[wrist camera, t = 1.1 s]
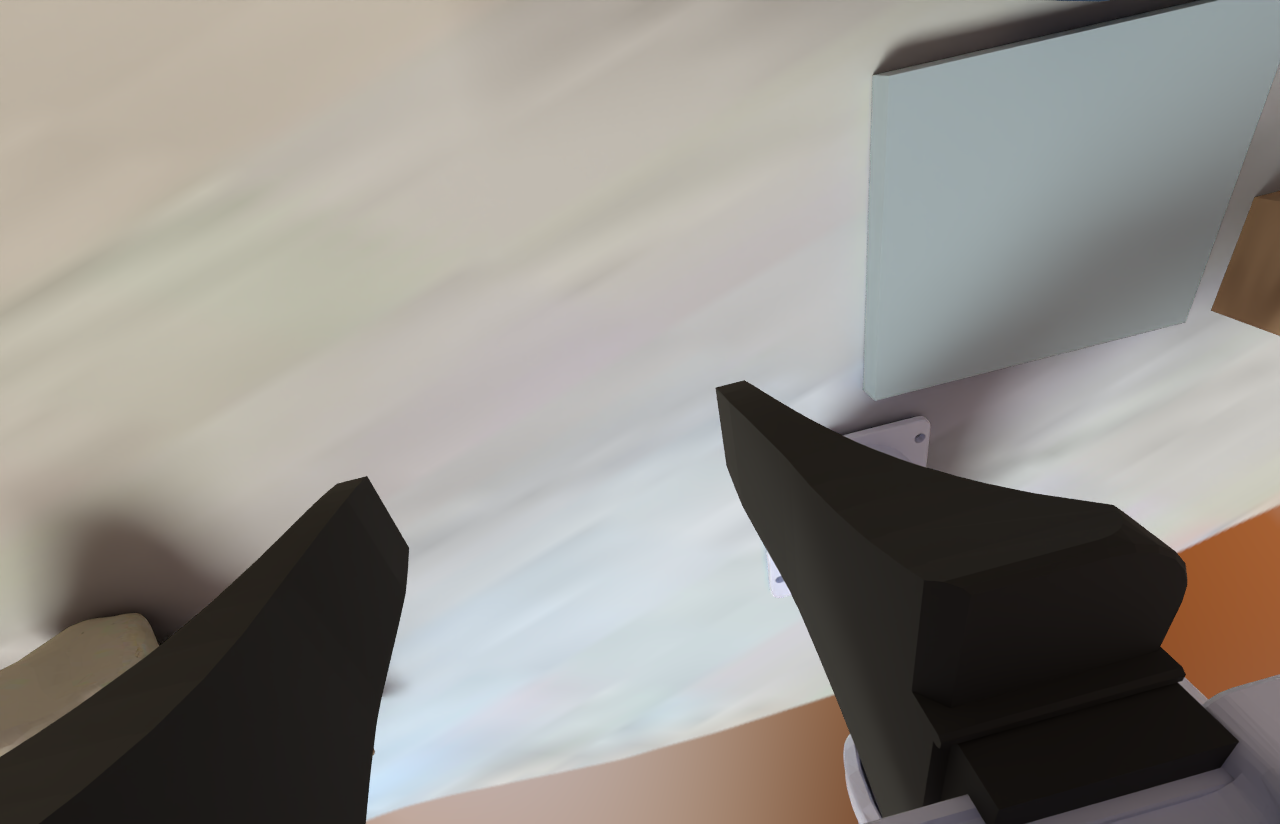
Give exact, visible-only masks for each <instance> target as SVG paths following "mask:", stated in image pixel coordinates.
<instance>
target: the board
mask: <svg viewBox="0 0 1280 824" xmlns="http://www.w3.org/2000/svg"><path fill="white" fill-rule="evenodd" d="M1279 63H1280V0H1199V1H1194V2H1190V3H1185V4H1181V5H1177V6H1172V7H1168V8H1164V9H1159V10H1155V11H1151V12H1146V13H1142V14H1137V15H1133V16H1129V17H1124V18H1120V19H1116V20H1111V21H1107V22H1103V23H1098V24H1094V25H1090V26H1085V27H1081V28H1076V29H1072V30H1068V31H1063V32H1059V33H1055V34H1050V35H1046V36H1042V37H1037V38H1033V39H1028V40H1024V41H1020V42H1015V43H1011V44H1007V45H1002V46H998V47H994V48H989V49H985V50H980V51H976V52H972V53H967V54H963V55H959V56H954V57H950V58H946V59H941V60H937V61H932V62H928V63H924V64H919V65H915V66H911V67H906V68H902V69H898V70H893V71H889V72H884V73H880V74H876V75H873V83H872V115H871V147H870V179H869V211H868V243H867V275H866V307H865V339H864V371H863V390H864V391H865V392H866V393H867V394H868V395H869V396H870V397H871V398H872V399H873V400H874V401H877V400H881V399H885V398H889V397H893V396H897V395H901V394H905V393H909V392H913V391H917V390H921V389H924V388H928V387H932V386H936V385H940V384H944V383H948V382H952V381H956V380H960V379H964V378H968V377H972V376H976V375H980V374H984V373H988V372H992V371H996V370H1000V369H1003V368H1007V367H1011V366H1015V365H1019V364H1023V363H1027V362H1031V361H1035V360H1039V359H1043V358H1047V357H1051V356H1055V355H1059V354H1063V353H1067V352H1071V351H1075V350H1079V349H1082V348H1086V347H1090V346H1094V345H1098V344H1102V343H1106V342H1110V341H1114V340H1118V339H1122V338H1126V337H1130V336H1134V335H1138V334H1142V333H1146V332H1150V331H1154V330H1158V329H1161V328H1165V327H1169V326H1173V325H1177V324H1181V323H1185V322H1186V319H1187V317H1188V314H1189V311H1190V308H1191V305H1192V303H1193V300H1194V297H1195V294H1196V292H1197V289H1198V286H1199V283H1200V281H1201V278H1202V275H1203V272H1204V270H1205V267H1206V264H1207V261H1208V259H1209V256H1210V253H1211V250H1212V248H1213V245H1214V242H1215V239H1216V237H1217V234H1218V231H1219V228H1220V226H1221V223H1222V220H1223V217H1224V215H1225V212H1226V209H1227V206H1228V204H1229V201H1230V198H1231V195H1232V193H1233V190H1234V187H1235V184H1236V182H1237V179H1238V176H1239V173H1240V171H1241V168H1242V165H1243V162H1244V159H1245V157H1246V154H1247V151H1248V148H1249V146H1250V143H1251V140H1252V137H1253V135H1254V132H1255V129H1256V126H1257V124H1258V121H1259V118H1260V115H1261V113H1262V110H1263V107H1264V104H1265V102H1266V99H1267V96H1268V93H1269V91H1270V88H1271V85H1272V82H1273V80H1274V77H1275V74H1276V71H1277V69H1278V66H1279Z"/></svg>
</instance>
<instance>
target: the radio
mask: <svg viewBox="0 0 1280 824" xmlns="http://www.w3.org/2000/svg"><path fill="white" fill-rule="evenodd" d="M1057 1H1108V0H1057Z"/></svg>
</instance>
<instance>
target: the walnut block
mask: <svg viewBox="0 0 1280 824" xmlns="http://www.w3.org/2000/svg"><path fill="white" fill-rule="evenodd" d="M1211 311H1214V312H1216V313H1219V314H1222V315H1225V316H1227V317H1230V318H1233V319H1235V320H1238V321H1241V322H1244V323H1246V324H1249V325H1252V326H1254V327H1257V328H1260V329H1263V330H1265V331H1268V332H1271V333H1273V334H1276V335H1279V336H1280V191H1277V192H1273V193H1269V194H1265V195H1261V196H1257V197H1254V200H1253V202H1252V205H1251V208H1250V210H1249V213H1248V215H1247V218H1246V221H1245V223H1244V226H1243V228H1242V231H1241V234H1240V236H1239V239H1238V241H1237V244H1236V247H1235V249H1234V252H1233V254H1232V257H1231V260H1230V262H1229V265H1228V267H1227V270H1226V273H1225V275H1224V278H1223V280H1222V283H1221V286H1220V288H1219V291H1218V293H1217V296H1216V299H1215V301H1214V304H1213V306H1212V309H1211Z"/></svg>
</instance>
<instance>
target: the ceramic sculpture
mask: <svg viewBox="0 0 1280 824" xmlns="http://www.w3.org/2000/svg"><path fill="white" fill-rule="evenodd" d="M157 647H159V645H158V642H157V640H156V637H155V635H154V632H153V630H152V628H151V626H150V624H149V622H148V621H147V619H146V618H145V617H144V616H142V615H141V614H138V613H129V614H122V615H117V616H112V617H103V618H94V619H89V620H84V621H82V622H79V623H77V624H75V625H72V626H70V627H68V628H67V629H65V630H64V631H62V632H61V633H59V634H58V635H56V636H55V637H53V638H52V639H50V640H49V641H47V642H46V643H44V644H43V645H41V646H40V647H38V648H37V649H35V650H34V651H32V652H31V653H30V654H28V655H27V656H25V657H24V658H22V659H21V660H19V661H18V662H16V663H14V664H12V665H10V666H8V667H6V668H4V669H2V670H0V757H1V756H2V755H4V754H5V753H7V752H9V751H10V750H12V749H13V748H15V747H16V746H18V745H20V744H21V743H23V742H24V741H26V740H27V739H29V738H31V737H32V736H34V735H35V734H37V733H38V732H40V731H41V730H43V729H44V728H46V727H47V726H49V725H50V724H52V723H53V722H55V721H56V720H58V719H59V718H61V717H62V716H64V715H65V714H67V713H68V712H70V711H71V710H73V709H74V708H76V707H77V706H78V705H80V704H81V703H83V702H84V701H85V700H87V699H88V698H90V697H91V696H92V695H94V694H95V693H96V692H98V691H99V690H101V689H102V688H103V687H105V686H106V685H108V684H109V683H110V682H112V681H113V680H114V679H116V678H117V677H119V676H120V675H121V674H123V673H124V672H125V671H127V670H128V669H130V668H131V667H132V666H134V665H135V664H137V663H138V662H139V661H141V660H142V659H143V658H145V657H146V656H147V655H148V654H150V653H151V652H152V651H154V650H155V649H156V648H157ZM374 753H375V751H374V748H373V755H374Z"/></svg>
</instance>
